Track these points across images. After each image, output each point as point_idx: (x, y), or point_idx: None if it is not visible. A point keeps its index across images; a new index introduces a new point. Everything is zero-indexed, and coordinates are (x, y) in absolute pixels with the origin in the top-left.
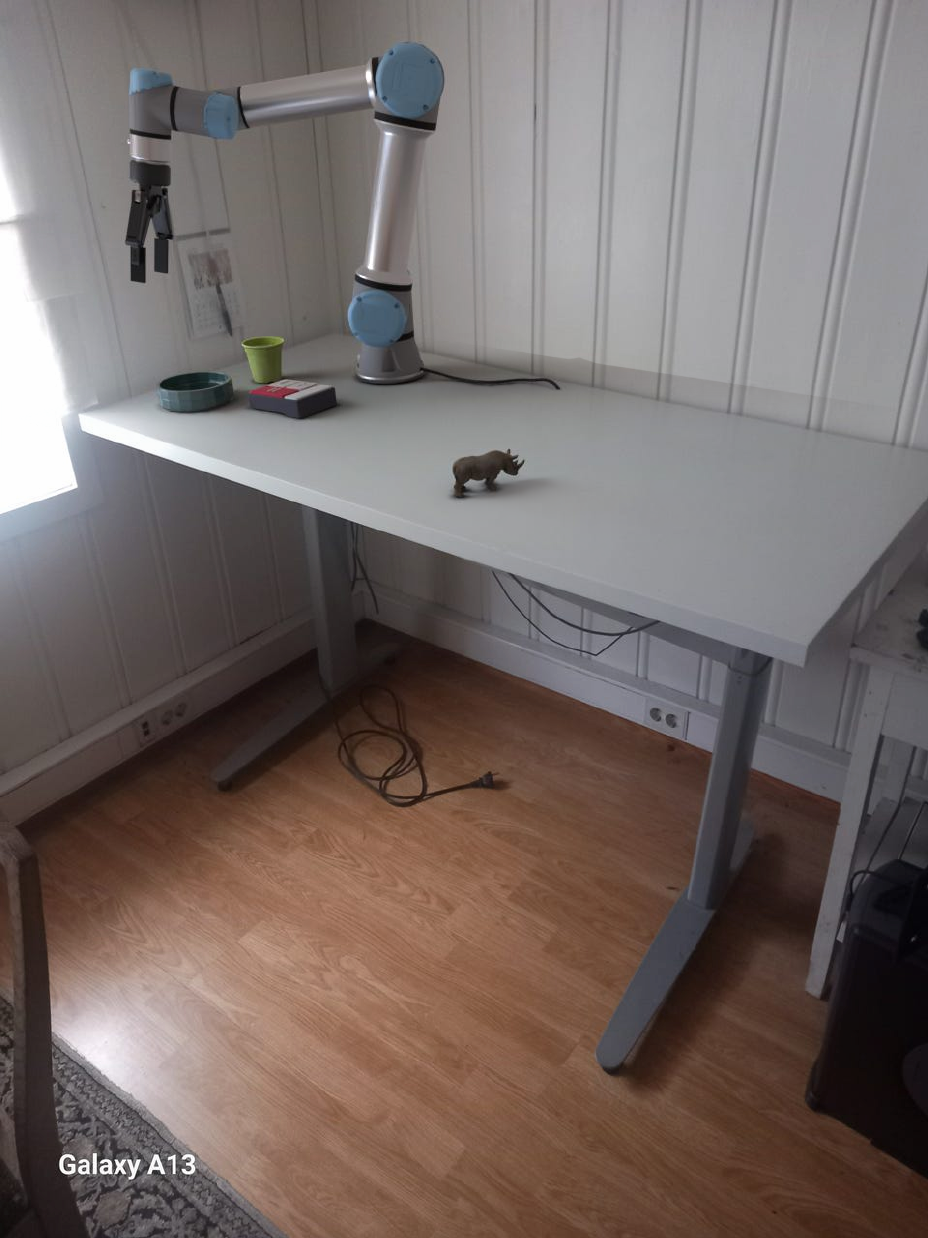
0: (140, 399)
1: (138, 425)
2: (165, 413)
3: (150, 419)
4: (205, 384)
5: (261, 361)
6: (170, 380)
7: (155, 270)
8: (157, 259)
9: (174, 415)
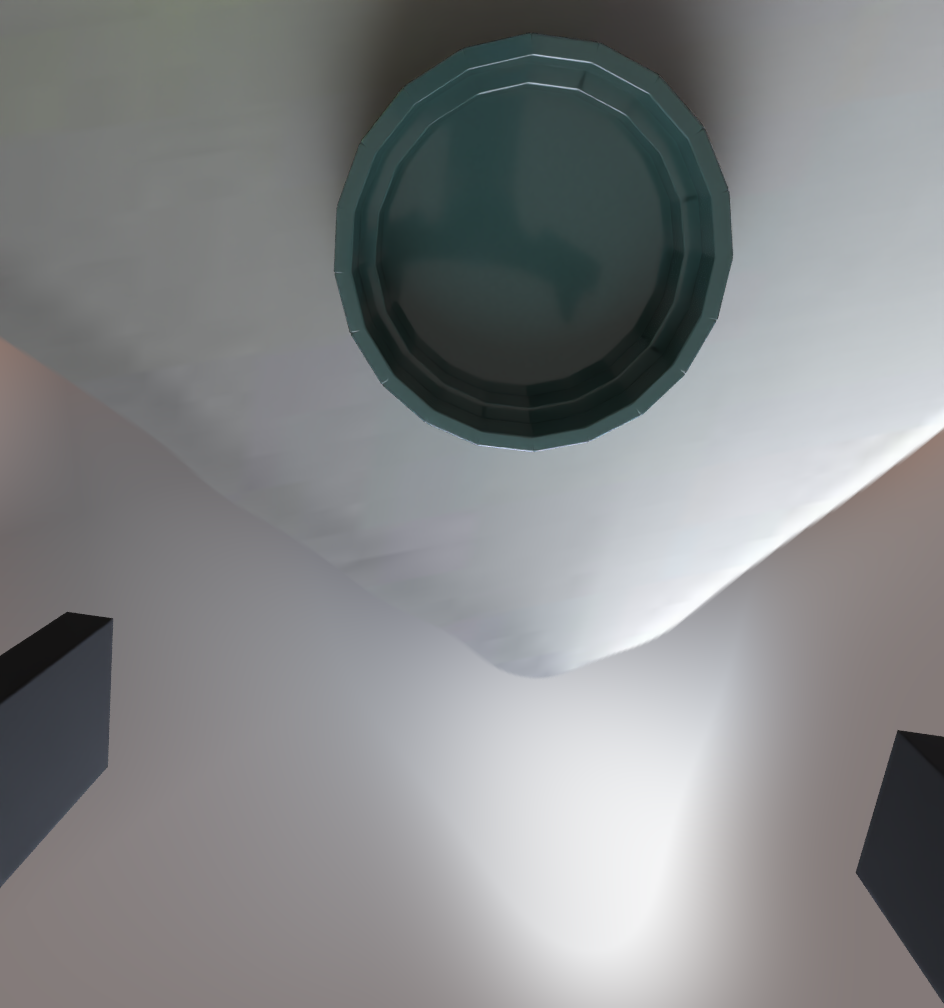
0: (424, 517)
1: (800, 455)
2: None
3: (733, 423)
4: (379, 231)
5: None
6: (432, 402)
7: (101, 758)
8: (18, 822)
9: None
